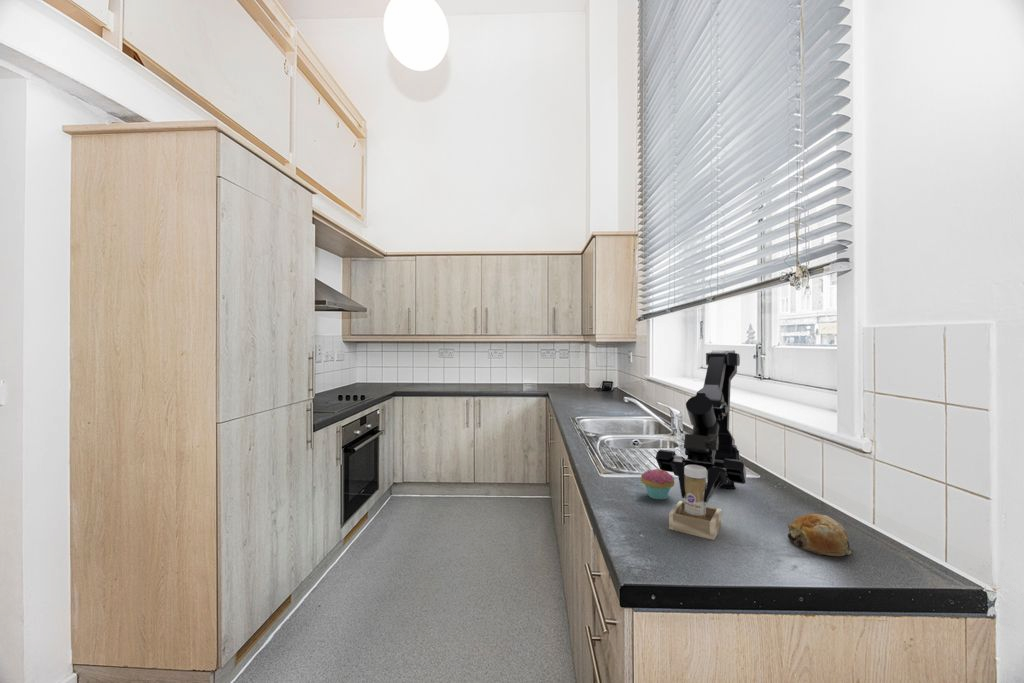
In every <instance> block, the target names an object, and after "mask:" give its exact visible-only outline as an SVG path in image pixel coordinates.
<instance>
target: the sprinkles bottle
mask: <svg viewBox="0 0 1024 683" xmlns="http://www.w3.org/2000/svg"><path fill="white" fill-rule="evenodd" d="M684 474H685V497H684V502H685V516H689V517H694V518H699V519H703V520H706V506H707V503H706V502H704V496H705V491H706V487H707V483H706V481H707V470H706V468H705V467H703V466H699V465H686V466H685V467H684Z"/></svg>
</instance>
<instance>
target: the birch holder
mask: <svg viewBox="0 0 1024 683" xmlns="http://www.w3.org/2000/svg"><path fill="white" fill-rule="evenodd" d="M722 518H723V517H722V509H721V508H718V507H714V506H713V507H712V506H708V505H706V520H703V519H699V518H694V517H689V516H685V500H684V501H682V500H679V501H678V502H677V503H676V504H675V505H674V507H673V508H672V509H671V510H670V512H669V513H668V530H670V529H671V531H674V530H675V531H674V532H678V531H679V532H678V533H681V534H682V533H684V534H687V535H692V536H696V537H700V538H703V539H708V540H713V541H715V539H716V537H717V535H718V533H719V531H720V529H721V527H722V520H723V519H722Z"/></svg>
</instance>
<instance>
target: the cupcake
mask: <svg viewBox="0 0 1024 683" xmlns="http://www.w3.org/2000/svg"><path fill="white" fill-rule="evenodd" d="M640 482H641V483H642V484H643V485H644V486H645V489H646V492H647V495H648V496H649V498H651V499H655V500H659V499H660V500H662V499H663V500H666V499H668V495H669V494H670V490H671V488H672V487H675V478H674V474H673V475H672V474H671V473H670V472H668V471H663V470H661V469H660V468H654V469H650V470H649V469H648V470H646V471H644V472H643V473H642V474H641V476H640Z"/></svg>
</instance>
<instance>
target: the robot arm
mask: <svg viewBox="0 0 1024 683" xmlns="http://www.w3.org/2000/svg"><path fill="white" fill-rule="evenodd" d="M740 360H741V356H740V353H737V352H736V350H734V349H733V350H732V349H727V350H725V349H722V350H721V349H714V350H712V351H709V352H706V353H705V365H706V366H707V368H706V374H705V378H704V384H703V387H702V388H701V389H699V390H697V392H696V395H694V396H691V397H690V398H689V399H688V400H686V402H685V407H686V408H685V409H686V411H687V414H688V415H687V416H688V419H689V422H690V424H691V425H692V426H693V427H692V430H691V431H692V432H691V434H690V433H685V434H684V438H683V439H684V440H683V449H684V455H685V456H686V458H685V457H683V456H681V455H677V454H676V451H675V450H668V449H661V448H660V449H658V450H657V451H656V454H655V460H656V462H657V465H658V469H660V470H663V471H667V472H668V473H673V476H677V478H678V483H679V489H680V494H681V498H682V499H685V474H684V467H685V466H686V465H699V466H703V467H705V468H706V471H707V477H706V481H707V483H706V491H705V496H704V502H706V504H707V503H708V502H709V500H710V499H711V498H712V496H713V495H714V493H715V492H716V491H717V490H718V489H719V488H721V489H731V490H736V489H737V486H736V485H735V484H736V483H737V484H747V482H746V481H747V469H746V464H745V462H743V460H741V458H740V457H741V456H740V451H739V449H738V447H737V445H735V444H736V443H735V442H736V441H735V438H734V436H733V435H732V433H731V431H730V410H731V405H730V404H731V382H732V380H733V378H735V376H736V374H737V372H738V367H740V364H741V362H740Z"/></svg>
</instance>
